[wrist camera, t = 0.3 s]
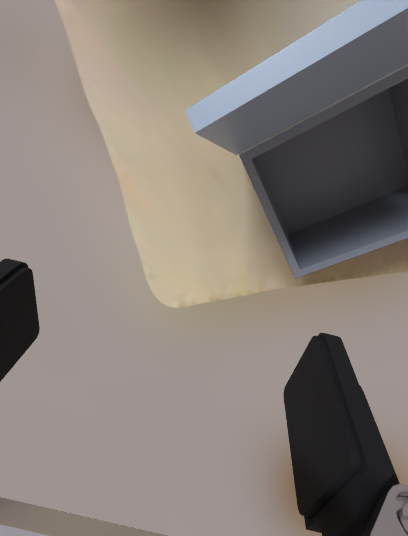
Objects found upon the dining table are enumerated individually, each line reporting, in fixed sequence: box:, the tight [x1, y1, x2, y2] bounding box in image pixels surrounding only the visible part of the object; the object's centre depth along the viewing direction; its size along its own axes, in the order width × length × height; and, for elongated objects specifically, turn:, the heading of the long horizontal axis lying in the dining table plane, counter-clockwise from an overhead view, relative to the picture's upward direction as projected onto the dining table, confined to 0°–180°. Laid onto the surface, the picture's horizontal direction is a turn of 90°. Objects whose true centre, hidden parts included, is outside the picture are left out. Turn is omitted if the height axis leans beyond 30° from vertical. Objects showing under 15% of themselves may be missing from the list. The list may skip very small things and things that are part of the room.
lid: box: [185, 0, 408, 155], centre depth 17 cm, size 16×14×1 cm
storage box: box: [239, 64, 408, 278], centre depth 31 cm, size 16×14×10 cm
